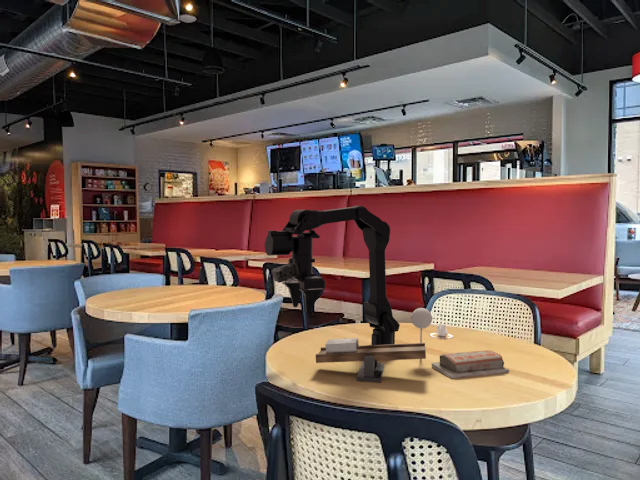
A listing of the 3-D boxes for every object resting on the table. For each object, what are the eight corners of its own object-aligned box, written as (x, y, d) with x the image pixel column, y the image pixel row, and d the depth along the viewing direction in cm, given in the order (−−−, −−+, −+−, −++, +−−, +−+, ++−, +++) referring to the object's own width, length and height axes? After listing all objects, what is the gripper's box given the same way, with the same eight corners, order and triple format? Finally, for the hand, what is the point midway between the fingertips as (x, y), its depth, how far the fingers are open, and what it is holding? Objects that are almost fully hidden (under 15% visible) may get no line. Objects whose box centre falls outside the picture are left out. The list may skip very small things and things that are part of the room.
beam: (425, 351, 132) (424, 342, 132) (425, 360, 124) (425, 350, 124) (322, 355, 137) (321, 347, 137) (316, 364, 130) (315, 355, 129)
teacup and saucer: (439, 332, 179) (439, 321, 179) (459, 336, 173) (459, 325, 173) (424, 336, 173) (425, 325, 173) (444, 341, 167) (444, 329, 167)
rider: (359, 349, 134) (358, 338, 134) (356, 354, 129) (355, 342, 129) (329, 350, 135) (328, 339, 135) (326, 355, 130) (325, 344, 130)
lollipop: (432, 358, 146) (433, 307, 145) (430, 363, 140) (431, 310, 139) (411, 355, 148) (412, 305, 147) (408, 361, 142) (409, 309, 141)
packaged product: (486, 346, 143) (510, 356, 133) (486, 363, 143) (509, 374, 133) (431, 351, 137) (451, 361, 127) (430, 368, 137) (450, 380, 128)
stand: (384, 366, 137) (384, 345, 136) (380, 382, 124) (380, 358, 124) (362, 365, 138) (362, 343, 138) (356, 380, 125) (356, 357, 125)
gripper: (263, 252, 144) (263, 306, 145) (287, 258, 127) (286, 318, 128) (299, 251, 149) (298, 303, 150) (326, 257, 132) (325, 315, 133)
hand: (301, 310), depth 140 cm, fingers open, 9 cm apart
